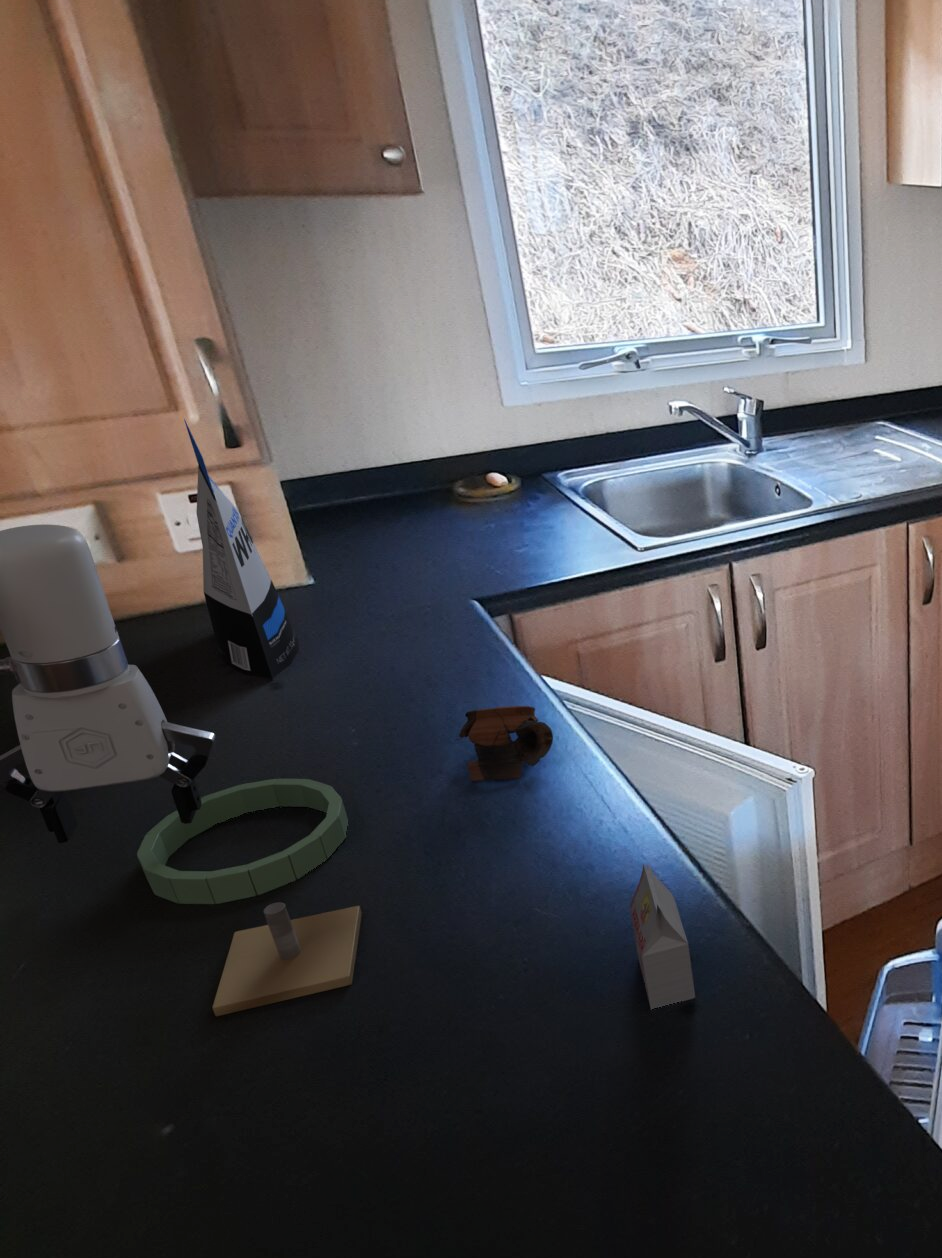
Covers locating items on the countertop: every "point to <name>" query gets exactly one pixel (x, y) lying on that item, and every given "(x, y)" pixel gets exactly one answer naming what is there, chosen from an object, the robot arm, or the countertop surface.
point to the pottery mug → (505, 741)
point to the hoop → (256, 874)
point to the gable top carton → (661, 943)
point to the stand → (288, 958)
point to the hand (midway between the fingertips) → (130, 825)
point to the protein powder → (239, 587)
